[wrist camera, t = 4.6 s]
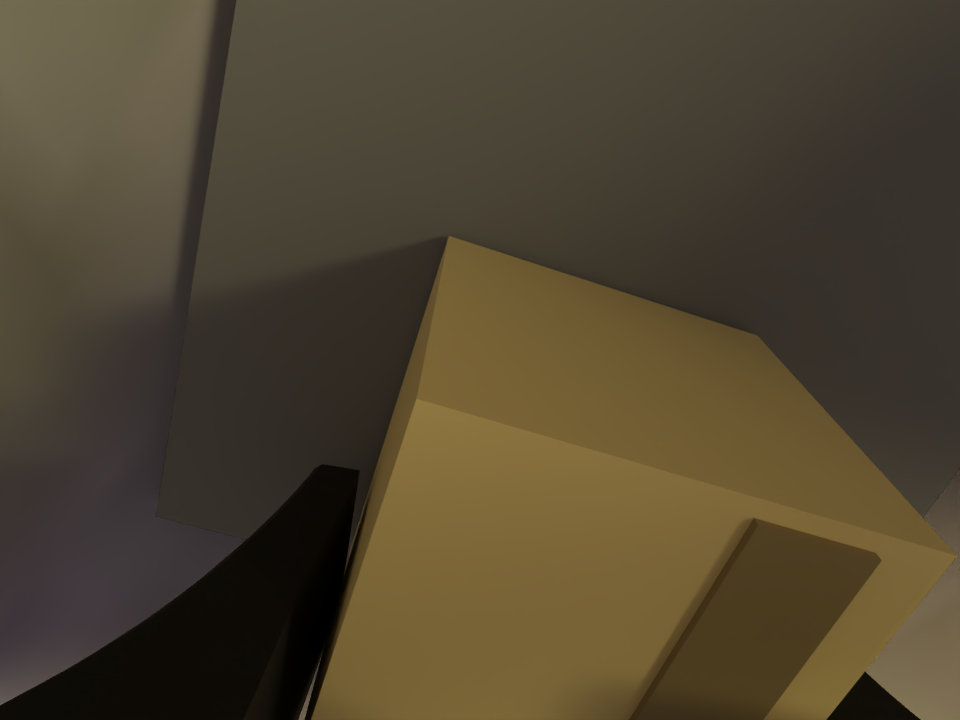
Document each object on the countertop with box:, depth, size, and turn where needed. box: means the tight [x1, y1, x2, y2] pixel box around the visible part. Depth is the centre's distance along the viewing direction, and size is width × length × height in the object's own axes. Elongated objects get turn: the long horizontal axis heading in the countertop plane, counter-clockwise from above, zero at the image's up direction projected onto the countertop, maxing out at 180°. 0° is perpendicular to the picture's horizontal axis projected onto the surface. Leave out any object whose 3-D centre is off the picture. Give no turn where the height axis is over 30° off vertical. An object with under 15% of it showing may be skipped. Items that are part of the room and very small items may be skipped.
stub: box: [305, 236, 957, 720], centre depth 9 cm, size 5×6×5 cm
